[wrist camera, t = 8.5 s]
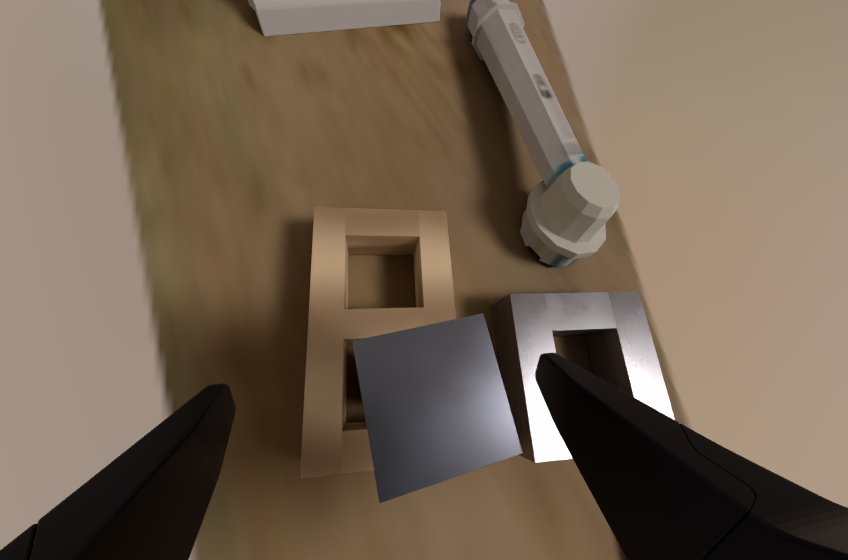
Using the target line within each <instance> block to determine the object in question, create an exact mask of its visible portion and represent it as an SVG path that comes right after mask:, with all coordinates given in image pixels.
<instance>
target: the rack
mask: <svg viewBox="0 0 848 560" xmlns="http://www.w3.org/2000/svg"><path fill="white" fill-rule="evenodd" d="M349 255H413V259H414V277H415V296H416V308H375V309H348V273H349ZM453 319H456V313H455V302H454V291H453V280H452V270H451V259H450V248H449V237H448V226H447V215H446V211H424V210H393V209H362V208H331V207H314V224H313V243H312V261H311V280H310V299H309V318H308V337H307V356H306V375H305V393H304V412H303V431H302V450H301V469H300V479H303V478H312V477H320V476H329V475H338V474H346V473H355V472H364V471H373V470H374V467H373V461H372V455H371V449H370V443H369V437H368V431H367V426H366V421H364V422H352V423H346V414H347V345H353V343H352V341H354V340H359V339H363V338H368V337H373V336H378V335H382V334H387V333H392V332H397V331H401V330H406V329H411V328H416V327H420V326H425V325H430V324H434V323H439V322H444V321H449V320H453Z"/></svg>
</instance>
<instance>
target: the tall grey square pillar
mask: <svg viewBox="0 0 848 560" xmlns="http://www.w3.org/2000/svg"><path fill="white" fill-rule="evenodd" d="M352 343H353V349H354V355H355V361H356V367H357V373H358V379H359V384H360V390H361V396H362V402H363V408H364V414H365V420H366V426H367V431H368V437H369V443H370V449H371V455H372V461H373V467H374V473H375V479H376V484H377V490H378V496H379V502H380V503H381V502H384V501H387V500H390V499H393V498H396V497H398V496H401V495H404V494H407V493H410V492H413V491H416V490H419V489H421V488H424V487H427V486H430V485H433V484H436V483H439V482H441V481H444V480H447V479H450V478H453V477H456V476H459V475H462V474H464V473H467V472H470V471H473V470H476V469H479V468H482V467H485V466H487V465H490V464H493V463H496V462H499V461H502V460H505V459H508V458H510V457H513V456H516V455H519V454H522V453H523V452H522V449H521V445H520V442H519V438H518V435H517V431H516V428H515V424H514V420H513V417H512V413H511V410H510V406H509V403H508V399H507V396H506V392H505V388H504V385H503V381H502V378H501V374H500V371H499V367H498V364H497V360H496V356H495V353H494V349H493V346H492V342H491V339H490V335H489V332H488V328H487V324H486V321H485V317H484V314H483V313H482V314H477V315H472V316H468V317H463V318H458V319H453V320H449V321H444V322H439V323H434V324H430V325H425V326H420V327H416V328H411V329H406V330H401V331H397V332H392V333H387V334H382V335H378V336H373V337H368V338H363V339H359V340H354V341H352Z"/></svg>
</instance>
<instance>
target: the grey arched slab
mask: <svg viewBox="0 0 848 560" xmlns="http://www.w3.org/2000/svg"><path fill="white" fill-rule="evenodd" d="M248 2H249V6H251V7H252V8H253V9H254V10H255V12H256V15H257V18H258V21H259V24H260V27H261V31H262V33H263V35H264V36H275V35H287V34H299V33H310V32H322V31H333V30H345V29H357V28H368V27H380V26H392V25H403V24H415V23H426V22H438V21H440V5H441V0H248Z"/></svg>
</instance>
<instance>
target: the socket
mask: <svg viewBox="0 0 848 560" xmlns="http://www.w3.org/2000/svg"><path fill="white" fill-rule="evenodd" d="M492 312H493V320H494V328H495V335H496V343H497V351H498V359H499V366H500V374H501V378H502V381H503V385H504V388H505V392H506V396H507V399H508V403H509V406H510V410H511V413H512V417H513V420H514V424H515V428H516V431H517V435H518V438H519V442H520V445H521V449H522V452H523V453H522V454H519V455H521V456H523V457H525V458H527V459H529V460H531V461H532V462H534V463H539V462H547V461H555V460H564V459H572V456H571V454H570V452H569V451H568V449H567V447H566V445H565V443H564V441H563V439H562V438H561V436H560V434H559V432H558V430H557V428H556V426H555V424H554V422H553V420H552V417H551V415H550V413H549V410H548V408H547V406H546V403H545V401H544V398H543V396H542V394H541V391H540V389H539V387H538V384H537V382H536V379H535V371H536V368H537V364H538V361H539V357H540V355H541V354H543V353H556V350H555V345H554V339H553V336H568V335H585V337H586V342H587V347H588V351H589V356H590V360H591V365H592V370H593V374H594V375H595V376H597V377H599V378H600V379H602V380H604V381H606V382H608V383H609V384H611V385H613V386H615V387H616V388H618V389H620V390H622V391H624V392H625V393H627V394H629V395H631V396H632V397H634V398H636V399H638V400H640V401H641V402H643V403H645V404H647V405H649V406H650V407H652V408H654V409H656V410H657V411H659V412H661V413H663V414H665V415H666V416H668V417H670V418H672V419H673V420H675V419H674V415H673V412H672V408H671V404H670V401H669V397H668V394H667V390H666V387H665V383H664V379H663V376H662V372H661V369H660V365H659V362H658V358H657V354H656V351H655V347H654V344H653V340H652V337H651V333H650V329H649V326H648V322H647V319H646V315H645V312H644V308H643V304H642V301H641V297H640V294H639V292H593V293H534V294H509V295H507V296H506V297H504V298H503V299H501V300H499V301H498V302H496V303H494V304H493V305H492Z"/></svg>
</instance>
